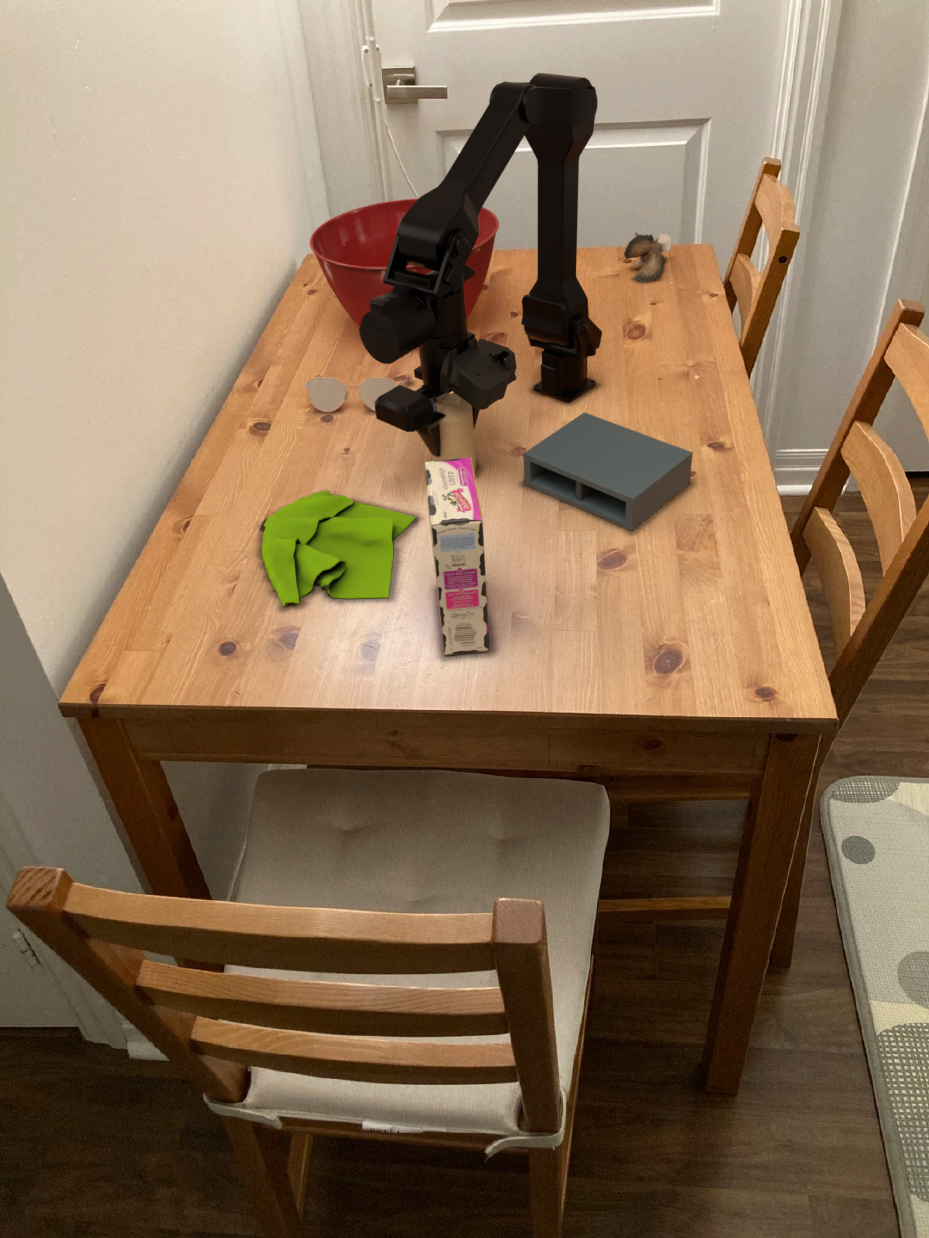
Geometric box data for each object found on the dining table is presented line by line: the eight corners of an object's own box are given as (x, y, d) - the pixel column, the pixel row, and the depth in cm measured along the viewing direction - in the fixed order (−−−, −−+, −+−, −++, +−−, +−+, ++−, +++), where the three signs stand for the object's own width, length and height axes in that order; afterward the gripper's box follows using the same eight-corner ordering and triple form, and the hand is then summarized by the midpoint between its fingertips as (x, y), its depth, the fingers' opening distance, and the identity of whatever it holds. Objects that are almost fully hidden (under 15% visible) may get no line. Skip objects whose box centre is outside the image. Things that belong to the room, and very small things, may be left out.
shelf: (583, 442, 127) (584, 412, 124) (689, 484, 118) (693, 452, 115) (524, 484, 120) (523, 453, 117) (631, 531, 112) (633, 499, 109)
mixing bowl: (290, 331, 158) (271, 235, 147) (424, 275, 171) (415, 183, 161) (402, 387, 141) (389, 283, 131) (540, 320, 155) (538, 221, 144)
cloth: (318, 483, 124) (315, 466, 122) (458, 534, 114) (457, 517, 112) (200, 570, 112) (195, 553, 110) (346, 636, 102) (342, 618, 100)
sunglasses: (306, 412, 138) (301, 377, 135) (322, 391, 145) (317, 358, 142) (403, 412, 136) (400, 377, 133) (414, 392, 143) (411, 358, 140)
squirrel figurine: (621, 252, 170) (612, 263, 162) (646, 216, 166) (638, 226, 158) (656, 279, 170) (649, 291, 163) (682, 244, 166) (676, 254, 159)
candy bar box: (493, 652, 98) (484, 520, 88) (444, 658, 98) (428, 526, 87) (482, 582, 107) (472, 454, 96) (436, 587, 107) (421, 459, 96)
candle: (471, 482, 121) (466, 411, 114) (428, 480, 122) (420, 409, 115) (480, 458, 125) (475, 388, 118) (438, 456, 126) (431, 386, 119)
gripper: (435, 379, 102) (448, 503, 112) (548, 314, 111) (550, 433, 122) (363, 351, 108) (381, 471, 118) (476, 292, 117) (483, 407, 128)
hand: (452, 445), depth 121 cm, fingers closed on candle, 5 cm apart
